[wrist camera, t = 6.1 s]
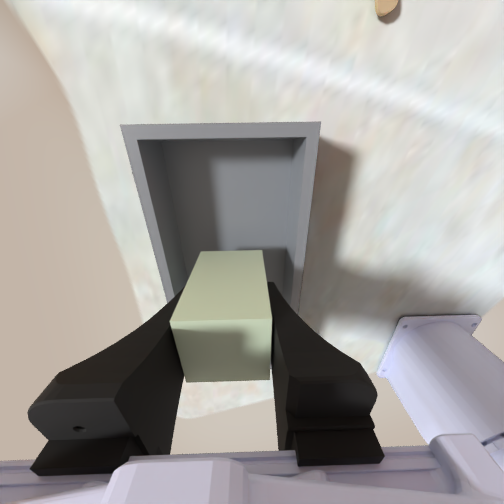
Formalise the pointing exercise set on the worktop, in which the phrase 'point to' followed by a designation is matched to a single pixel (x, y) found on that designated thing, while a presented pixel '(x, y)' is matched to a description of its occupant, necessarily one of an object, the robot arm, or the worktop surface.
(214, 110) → the worktop surface
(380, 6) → the popsicle
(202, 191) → the bin
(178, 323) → the sage block
